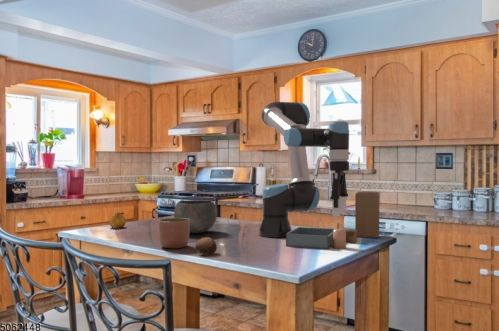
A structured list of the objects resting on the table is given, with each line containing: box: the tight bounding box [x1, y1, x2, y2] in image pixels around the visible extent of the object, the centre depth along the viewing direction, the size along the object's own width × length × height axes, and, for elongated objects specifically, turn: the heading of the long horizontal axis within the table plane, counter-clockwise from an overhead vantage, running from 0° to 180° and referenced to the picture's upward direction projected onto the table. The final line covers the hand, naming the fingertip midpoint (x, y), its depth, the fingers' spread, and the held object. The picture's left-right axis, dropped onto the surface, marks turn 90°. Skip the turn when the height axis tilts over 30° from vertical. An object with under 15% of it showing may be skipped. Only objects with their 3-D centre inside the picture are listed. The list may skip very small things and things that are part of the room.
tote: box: [285, 226, 334, 250], centre depth 185 cm, size 17×19×5 cm
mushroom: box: [195, 236, 218, 256], centre depth 166 cm, size 8×8×6 cm
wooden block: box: [354, 190, 380, 239], centre depth 202 cm, size 10×10×20 cm
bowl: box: [173, 199, 218, 234], centre depth 213 cm, size 20×20×15 cm
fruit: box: [108, 212, 127, 229], centre depth 231 cm, size 8×8×8 cm
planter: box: [158, 217, 190, 250], centre depth 179 cm, size 12×12×11 cm
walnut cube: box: [344, 228, 358, 244], centre depth 188 cm, size 5×5×5 cm
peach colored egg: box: [332, 228, 347, 250], centre depth 176 cm, size 5×5×7 cm
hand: (339, 214), depth 176 cm, fingers open, 13 cm apart
